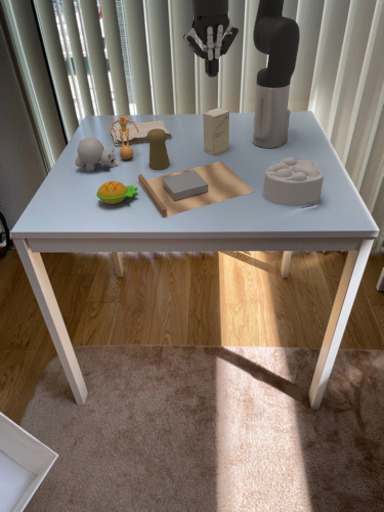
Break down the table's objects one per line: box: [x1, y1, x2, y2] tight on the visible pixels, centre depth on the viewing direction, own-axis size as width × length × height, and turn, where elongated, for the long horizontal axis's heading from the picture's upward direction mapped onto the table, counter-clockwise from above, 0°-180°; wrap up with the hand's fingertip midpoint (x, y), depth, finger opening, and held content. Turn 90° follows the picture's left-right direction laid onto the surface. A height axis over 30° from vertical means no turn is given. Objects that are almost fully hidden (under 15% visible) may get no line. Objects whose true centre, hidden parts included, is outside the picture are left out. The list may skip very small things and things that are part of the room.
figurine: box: [109, 115, 139, 160], centre depth 117 cm, size 8×6×12 cm
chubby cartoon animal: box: [74, 137, 121, 172], centre depth 114 cm, size 7×12×8 cm, turn 79°
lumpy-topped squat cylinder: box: [262, 156, 325, 209], centre depth 98 cm, size 10×13×9 cm
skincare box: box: [202, 107, 230, 156], centre depth 116 cm, size 6×4×12 cm
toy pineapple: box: [96, 180, 139, 205], centre depth 101 cm, size 7×10×5 cm
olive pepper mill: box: [147, 129, 171, 171], centre depth 111 cm, size 6×6×11 cm
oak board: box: [137, 160, 255, 218], centre depth 104 cm, size 24×18×3 cm
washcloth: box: [111, 120, 173, 147], centre depth 131 cm, size 12×18×3 cm, turn 107°
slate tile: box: [162, 170, 208, 201], centre depth 103 cm, size 2×8×9 cm
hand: (212, 75), depth 95 cm, fingers closed
